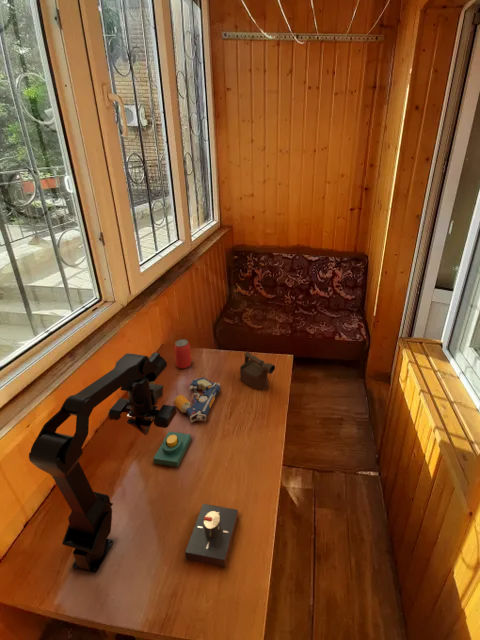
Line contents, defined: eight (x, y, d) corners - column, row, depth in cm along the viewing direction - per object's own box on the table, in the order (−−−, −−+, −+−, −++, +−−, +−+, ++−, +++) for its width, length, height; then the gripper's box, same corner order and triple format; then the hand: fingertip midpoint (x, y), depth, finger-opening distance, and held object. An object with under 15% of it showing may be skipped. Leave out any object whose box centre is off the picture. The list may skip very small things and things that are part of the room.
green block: (177, 467, 98) (176, 458, 97) (154, 463, 99) (152, 454, 98) (191, 439, 107) (190, 430, 106) (169, 436, 108) (168, 427, 107)
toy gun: (165, 420, 114) (204, 426, 112) (164, 411, 113) (203, 417, 111) (190, 381, 134) (223, 386, 132) (190, 373, 132) (223, 378, 130)
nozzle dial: (222, 522, 81) (222, 511, 80) (217, 540, 78) (216, 529, 76) (208, 519, 82) (207, 508, 80) (202, 537, 78) (201, 526, 77)
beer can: (175, 361, 145) (173, 340, 141) (190, 358, 148) (188, 336, 143) (177, 370, 139) (174, 348, 135) (192, 366, 142) (190, 344, 138)
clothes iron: (264, 398, 125) (264, 371, 121) (239, 378, 135) (238, 353, 130) (278, 387, 131) (278, 361, 126) (252, 369, 141) (252, 344, 136)
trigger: (174, 448, 100) (173, 444, 100) (165, 446, 101) (164, 442, 100) (179, 439, 103) (178, 435, 103) (170, 437, 104) (169, 434, 103)
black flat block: (225, 567, 75) (224, 559, 74) (186, 559, 76) (184, 551, 75) (238, 516, 85) (237, 509, 84) (203, 510, 87) (202, 503, 85)
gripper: (182, 377, 96) (187, 416, 101) (127, 370, 99) (134, 408, 104) (163, 405, 86) (169, 447, 91) (102, 396, 88) (112, 437, 93)
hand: (146, 433), depth 95 cm, fingers closed
